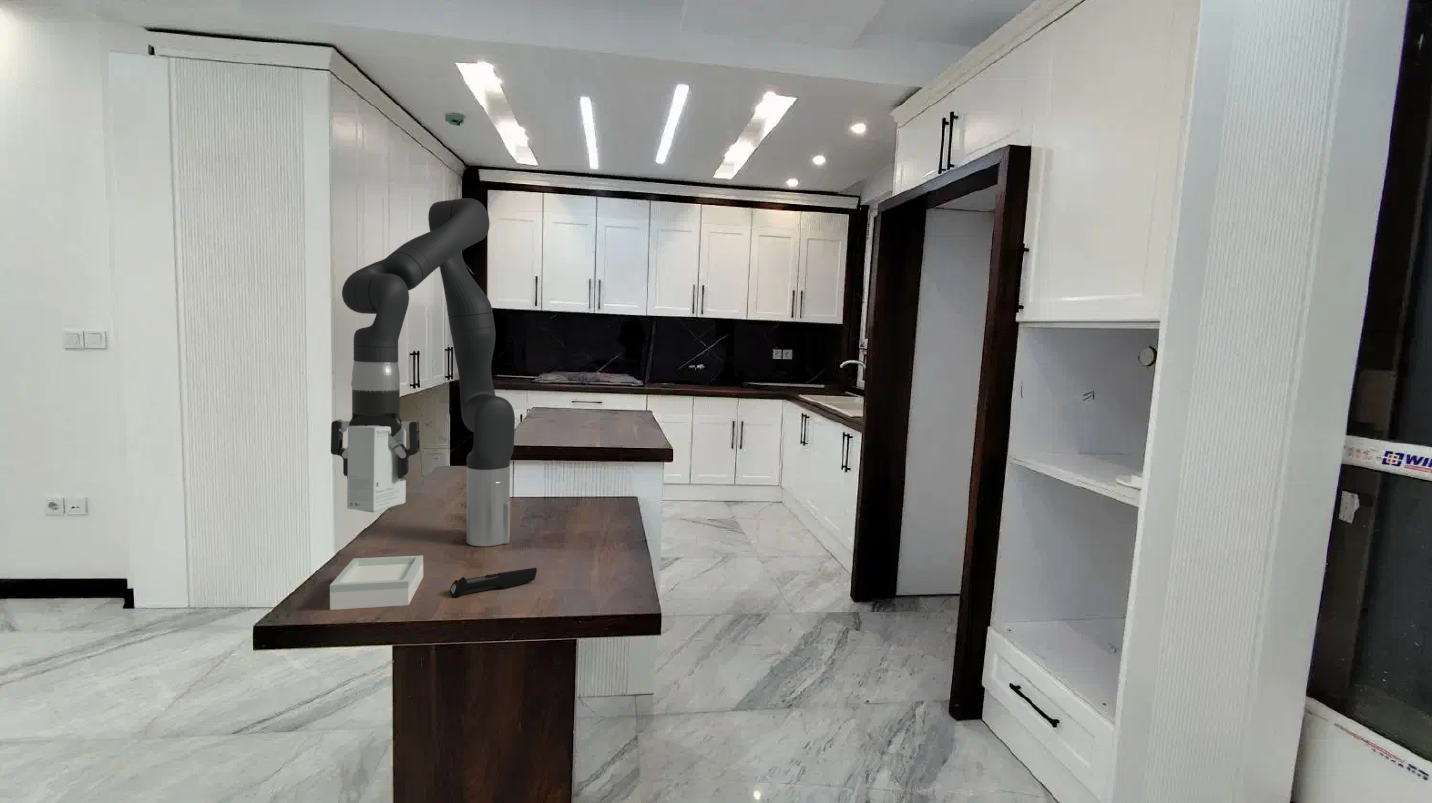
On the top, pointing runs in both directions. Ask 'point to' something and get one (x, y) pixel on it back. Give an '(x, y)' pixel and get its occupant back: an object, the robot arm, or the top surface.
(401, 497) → the skincare box
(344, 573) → the white open tray
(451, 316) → the robot arm
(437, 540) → the top surface
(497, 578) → the electric trimmer
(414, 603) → the top surface
